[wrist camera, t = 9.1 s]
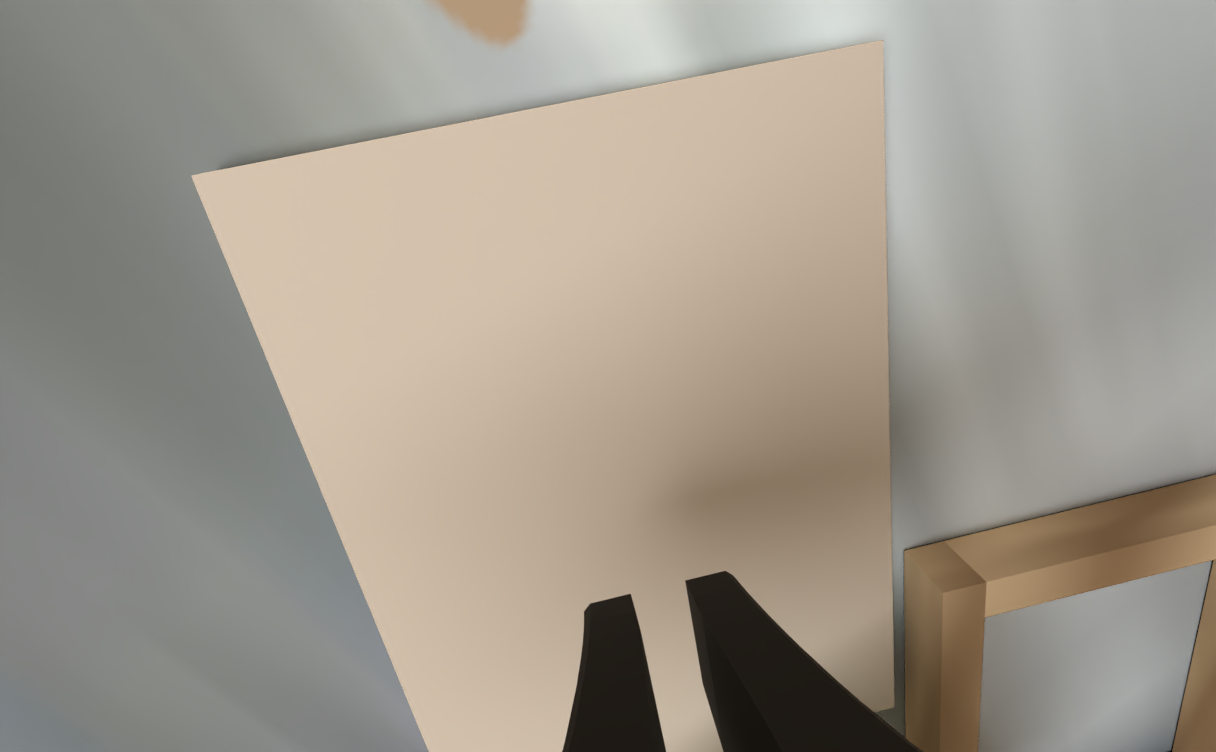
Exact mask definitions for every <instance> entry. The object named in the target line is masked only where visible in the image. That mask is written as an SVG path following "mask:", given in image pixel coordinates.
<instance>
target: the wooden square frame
mask: <svg viewBox="0 0 1216 752" xmlns="http://www.w3.org/2000/svg"><path fill="white" fill-rule="evenodd" d="M1211 560H1213V565H1212V570H1211V574H1210V579H1209V584H1208V588H1207V593H1206V597H1205V602H1204V607H1203V611H1202V616H1201V620H1200V625H1199V630H1198V634H1197V639H1196V643H1195V648H1194V653H1193V657H1192V662H1191V667H1190V671H1189V676H1188V680H1187V685H1186V690H1185V694H1184V699H1183V703H1182V708H1181V713H1180V717H1179V722H1178V726H1177V731H1176V736H1175V740H1174V745H1173V749H1172V752H1216V475H1212V476H1208V477H1204V478H1200V479H1196V480H1191V481H1187V482H1183V483H1179V484H1175V485H1171V486H1167V487H1163V488H1159V489H1155V490H1151V491H1147V492H1142V493H1138V494H1134V495H1130V496H1126V497H1122V498H1118V499H1114V500H1110V501H1106V502H1102V503H1097V504H1093V505H1089V506H1085V507H1081V508H1077V509H1073V510H1069V511H1065V512H1061V513H1057V514H1053V515H1048V516H1044V517H1040V518H1036V519H1032V520H1028V521H1024V522H1020V523H1016V524H1012V525H1008V526H1003V527H999V528H995V529H991V530H987V531H983V532H979V533H975V534H971V535H967V536H963V537H958V538H954V539H950V540H946V541H942V542H938V543H934V544H930V545H926V546H922V547H918V548H914V549H909V550H905V551H904V604H905V721H906V739H907V740H909V741H910V742H911V743H913V744H914V745H915V746H916V747H918V748H919V749H920V750H922V751H923V752H978V737H979V718H980V699H981V680H982V660H983V641H984V622H985V617H989V616H993V615H997V614H1001V613H1005V612H1009V611H1013V610H1017V609H1021V608H1025V607H1029V606H1033V605H1037V604H1041V603H1045V602H1049V601H1052V600H1056V599H1060V598H1064V597H1068V596H1072V595H1076V594H1080V593H1084V592H1088V591H1092V590H1096V589H1100V588H1104V587H1108V586H1112V585H1116V584H1120V583H1124V582H1128V581H1132V580H1136V579H1139V578H1143V577H1147V576H1151V575H1155V574H1159V573H1163V572H1167V571H1171V570H1175V569H1179V568H1183V567H1187V566H1191V565H1195V564H1199V563H1203V562H1207V561H1211Z"/></svg>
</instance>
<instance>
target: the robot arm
mask: <svg viewBox="0 0 1216 752" xmlns="http://www.w3.org/2000/svg"><path fill="white" fill-rule="evenodd" d="M685 583H686V589H687V595H688V600H689V606H690V612H691V618H692V624H693V630H694V636H695V642H696V647H697V653H698V659H699V665H700V671H701V677H702V683H703V686H704V690H705V693H706V696H707V700H708V703H709V706H710V710H711V713H712V716H713V719H714V723H715V726H716V729H717V732H718V736H719V739H720V742H721V745H722V749H723V752H923V751H922V750H920V749H919V748H918V747H916V746H915V745H914V744H913V743H911V742H910V741H909V740H907V739H906V738H905V737H904V736H902V735H901V734H900V733H899V732H897V731H896V730H895V729H894V728H892V727H891V726H890V725H889V724H888V723H886V722H885V721H884V720H883V719H882V718H880V717H879V716H878V715H877V714H876V713H874V712H873V711H872V710H871V709H870V708H868V707H867V706H866V705H865V704H864V703H862V702H861V701H860V700H859V699H858V698H857V697H855V696H854V695H853V694H852V693H851V692H850V691H849V690H847V689H846V688H845V687H844V686H843V685H842V684H841V683H839V682H838V681H837V680H836V679H835V678H834V677H833V676H832V675H831V674H830V673H828V672H827V671H826V670H825V669H824V668H823V667H822V666H821V665H820V664H819V663H818V662H817V661H815V660H814V659H813V658H812V657H811V656H810V655H809V654H808V653H807V652H806V651H805V650H804V649H802V648H801V647H800V646H799V645H798V644H797V643H796V642H795V641H794V640H793V639H792V638H791V637H790V636H789V635H788V634H787V633H786V632H785V631H784V630H783V629H782V628H781V627H780V626H779V625H778V624H777V623H776V622H775V621H774V620H773V619H772V618H771V617H770V616H769V615H768V614H767V613H766V611H765V610H764V609H763V608H762V607H761V606H760V605H759V604H758V603H757V602H756V601H755V600H754V599H753V598H752V596H751V595H750V594H749V593H748V592H747V591H746V590H745V589H744V587H743V586H742V585H741V584H740V583H739V582H738V580H737V579H736V578H735V577H734V576H733V575H732V574H730V573H729V572H727V571H722V572H718V573H714V574H710V575H706V576H701V577H697V578H693V579H689V580H685ZM562 752H666V748H665V744H664V739H663V734H662V730H661V725H660V720H659V715H658V711H657V706H656V701H655V696H654V692H653V687H652V682H651V677H650V673H649V668H648V663H647V658H646V654H645V649H644V644H643V639H642V635H641V630H640V626H639V622H638V619H637V615H636V611H635V607H634V604H633V600H632V596H631V594H627V595H623V596H619V597H615V598H611V599H607V600H603V601H598V602H594V603H590V604H589V606H588V607H587V608H586V609H585V611H584V632H583V644H582V653H581V661H580V667H579V673H578V680H577V686H576V691H575V696H574V700H573V705H572V710H571V715H570V719H569V724H568V729H567V734H566V738H565V742H564V746H563V751H562Z"/></svg>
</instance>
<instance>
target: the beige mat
mask: <svg viewBox="0 0 1216 752" xmlns="http://www.w3.org/2000/svg"><path fill="white" fill-rule="evenodd" d="M192 179H193V181H194V184H195V186H196V188H197V191H198V193H199V196H200V198H201V201H202V203H203V205H204V208H205V210H206V213H207V215H208V218H209V220H210V222H211V225H212V227H213V230H214V232H215V234H216V237H217V239H218V242H219V244H220V247H221V249H222V251H223V254H224V256H225V259H226V261H227V264H228V266H229V268H230V271H231V273H232V276H233V278H234V281H235V283H236V285H237V288H238V290H239V293H240V295H241V298H242V300H243V302H244V305H245V307H246V310H247V312H248V314H249V317H250V319H251V322H252V324H253V327H254V329H255V331H256V334H257V336H258V339H259V341H260V344H261V346H262V348H263V351H264V353H265V356H266V358H267V361H268V363H269V365H270V368H271V370H272V373H273V375H274V378H275V380H276V382H277V385H278V387H279V390H280V392H281V395H282V397H283V399H284V402H285V404H286V407H287V409H288V411H289V414H290V416H291V419H292V421H293V424H294V426H295V428H296V431H297V433H298V436H299V438H300V441H301V443H302V445H303V448H304V450H305V453H306V455H307V458H308V460H309V462H310V465H311V467H312V470H313V472H314V475H315V477H316V479H317V482H318V484H319V487H320V489H321V491H322V494H323V496H324V499H325V501H326V504H327V506H328V508H329V511H330V513H331V516H332V518H333V521H334V523H335V525H336V528H337V530H338V533H339V535H340V538H341V540H342V542H343V545H344V547H345V550H346V552H347V555H348V557H349V559H350V562H351V564H352V567H353V569H354V571H355V574H356V576H357V579H358V581H359V584H360V586H361V588H362V591H363V593H364V596H365V598H366V601H367V603H368V605H369V608H370V610H371V613H372V615H373V618H374V620H375V622H376V625H377V627H378V630H379V632H380V635H381V637H382V639H383V642H384V644H385V647H386V649H387V651H388V654H389V656H390V659H391V661H392V664H393V666H394V668H395V671H396V673H397V676H398V678H399V681H400V683H401V685H402V688H403V690H404V693H405V695H406V698H407V700H408V702H409V705H410V707H411V710H412V712H413V715H414V717H415V719H416V722H417V724H418V727H419V729H420V731H421V734H422V736H423V739H424V741H425V744H426V746H427V748H428V751H429V752H562V751H563V746H564V742H565V738H566V734H567V729H568V724H569V719H570V715H571V710H572V705H573V700H574V696H575V691H576V686H577V680H578V673H579V667H580V661H581V653H582V644H583V632H584V611H585V609H586V608H587V607H588V606H589V604H590V603H594V602H598V601H603V600H607V599H611V598H615V597H619V596H623V595H627V594H631V596H632V600H633V604H634V607H635V611H636V615H637V619H638V622H639V626H640V630H641V635H642V639H643V644H644V649H645V654H646V658H647V663H648V668H649V673H650V677H651V682H652V687H653V692H654V696H655V701H656V706H657V711H658V715H659V720H660V725H661V730H662V734H663V739H664V744H665V748H666V752H723V749H722V745H721V742H720V739H719V736H718V732H717V729H716V726H715V723H714V719H713V716H712V713H711V710H710V706H709V703H708V700H707V696H706V693H705V690H704V686H703V683H702V677H701V671H700V665H699V659H698V653H697V647H696V642H695V636H694V630H693V624H692V618H691V612H690V606H689V600H688V595H687V589H686V583H685V580H689V579H693V578H697V577H701V576H706V575H710V574H714V573H718V572H722V571H727V572H729V573H730V574H732V575H733V576H734V577H735V578H736V579H737V580H738V582H739V583H740V584H741V585H742V586H743V587H744V589H745V590H746V591H747V592H748V593H749V594H750V595H751V596H752V598H753V599H754V600H755V601H756V602H757V603H758V604H759V605H760V606H761V607H762V608H763V609H764V610H765V611H766V613H767V614H768V615H769V616H770V617H771V618H772V619H773V620H774V621H775V622H776V623H777V624H778V625H779V626H780V627H781V628H782V629H783V630H784V631H785V632H786V633H787V634H788V635H789V636H790V637H791V638H792V639H793V640H794V641H795V642H796V643H797V644H798V645H799V646H800V647H801V648H802V649H804V650H805V651H806V652H807V653H808V654H809V655H810V656H811V657H812V658H813V659H814V660H815V661H817V662H818V663H819V664H820V665H821V666H822V667H823V668H824V669H825V670H826V671H827V672H828V673H830V674H831V675H832V676H833V677H834V678H835V679H836V680H837V681H838V682H839V683H841V684H842V685H843V686H844V687H845V688H846V689H847V690H849V691H850V692H851V693H852V694H853V695H854V696H855V697H857V698H858V699H859V700H860V701H861V702H862V703H864V704H865V705H866V706H867V707H868V708H870V709H871V710H872V711H873V712H878V711H882V710H886V709H890V708H894V707H895V703H894V646H893V588H892V530H891V473H890V415H889V358H888V300H887V243H886V185H885V128H884V70H883V40H880V41H875V42H870V43H865V44H859V45H854V46H849V47H844V48H839V49H834V50H829V51H824V52H819V53H814V54H808V55H803V56H798V57H793V58H788V59H783V60H778V61H773V62H768V63H763V64H757V65H752V66H747V67H742V68H737V69H732V70H727V71H722V72H717V73H712V74H707V75H701V76H696V77H691V78H686V79H681V80H676V81H671V82H666V83H661V84H656V85H650V86H645V87H640V88H635V89H630V90H625V91H620V92H615V93H610V94H605V95H599V96H594V97H589V98H584V99H579V100H574V101H569V102H564V103H559V104H554V105H548V106H543V107H538V108H533V109H528V110H523V111H518V112H513V113H508V114H503V115H498V116H492V117H487V118H482V119H477V120H472V121H467V122H462V123H457V124H452V125H447V126H441V127H436V128H431V129H426V130H421V131H416V132H411V133H406V134H401V135H396V136H390V137H385V138H380V139H375V140H370V141H365V142H360V143H355V144H350V145H345V146H340V147H334V148H329V149H324V150H319V151H314V152H309V153H304V154H299V155H294V156H289V157H283V158H278V159H273V160H268V161H263V162H258V163H253V164H248V165H243V166H238V167H232V168H227V169H222V170H217V171H212V172H207V173H202V174H197V175H192Z"/></svg>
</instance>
